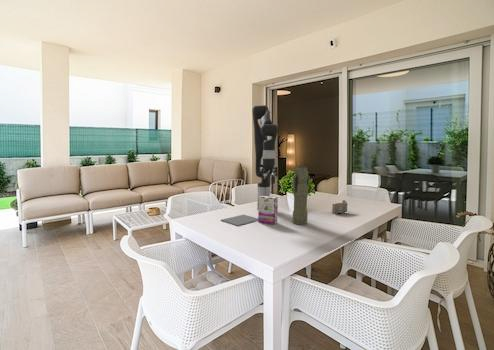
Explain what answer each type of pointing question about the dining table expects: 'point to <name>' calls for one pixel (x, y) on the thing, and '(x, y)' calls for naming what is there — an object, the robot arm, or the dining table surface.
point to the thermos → (300, 195)
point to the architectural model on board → (339, 207)
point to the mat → (240, 220)
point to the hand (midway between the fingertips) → (268, 184)
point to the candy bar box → (268, 209)
